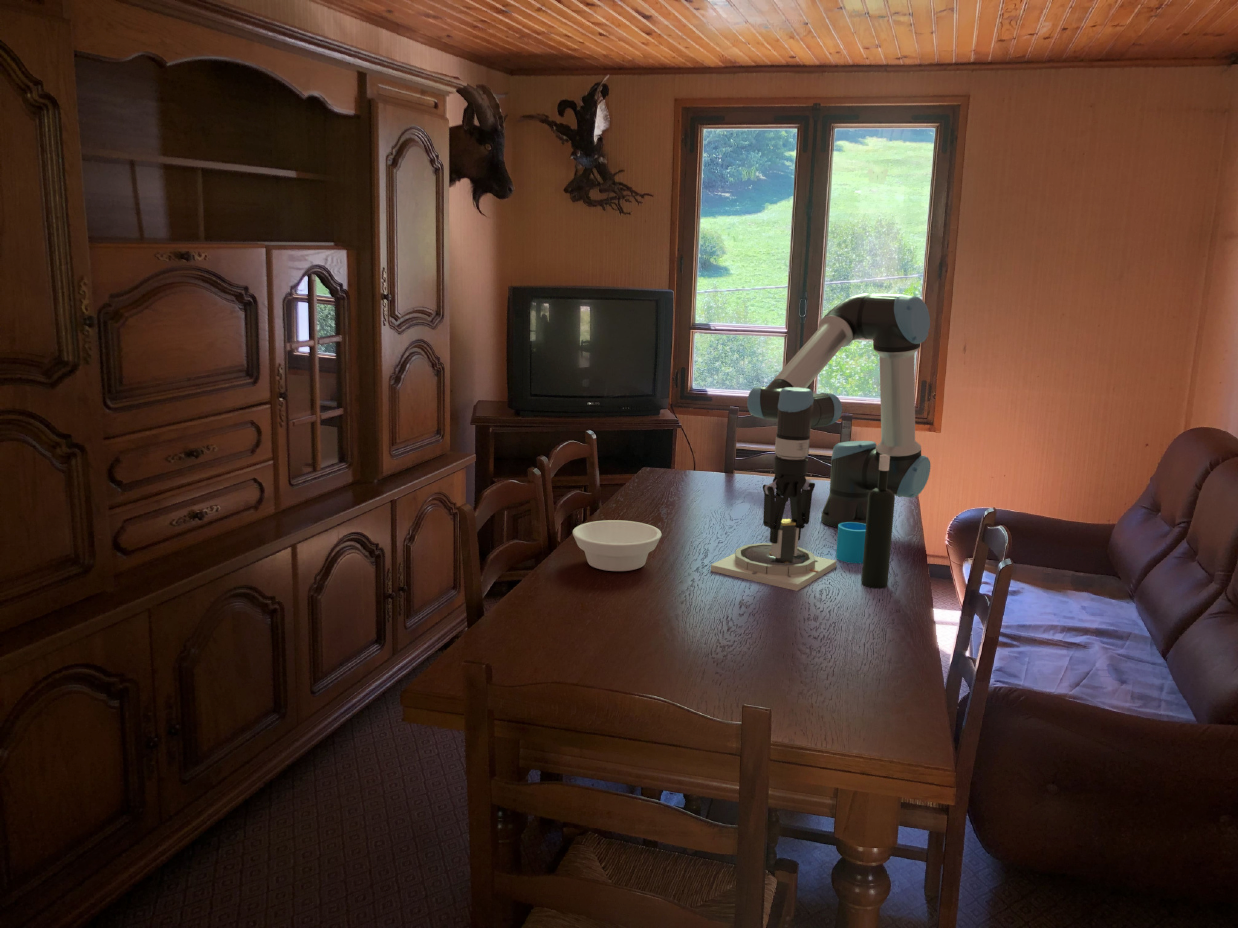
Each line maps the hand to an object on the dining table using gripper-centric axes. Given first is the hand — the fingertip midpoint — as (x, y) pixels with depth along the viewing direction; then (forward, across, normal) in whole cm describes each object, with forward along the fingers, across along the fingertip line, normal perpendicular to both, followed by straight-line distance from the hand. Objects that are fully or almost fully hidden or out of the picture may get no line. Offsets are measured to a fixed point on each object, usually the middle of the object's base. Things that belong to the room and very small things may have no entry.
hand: (783, 554), depth 222 cm
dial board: (+5, +1, +4) cm, 7 cm away
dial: (+3, +1, +5) cm, 5 cm away
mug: (+5, +26, +4) cm, 27 cm away
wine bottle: (+5, +15, -14) cm, 21 cm away
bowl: (+6, -32, +23) cm, 39 cm away
